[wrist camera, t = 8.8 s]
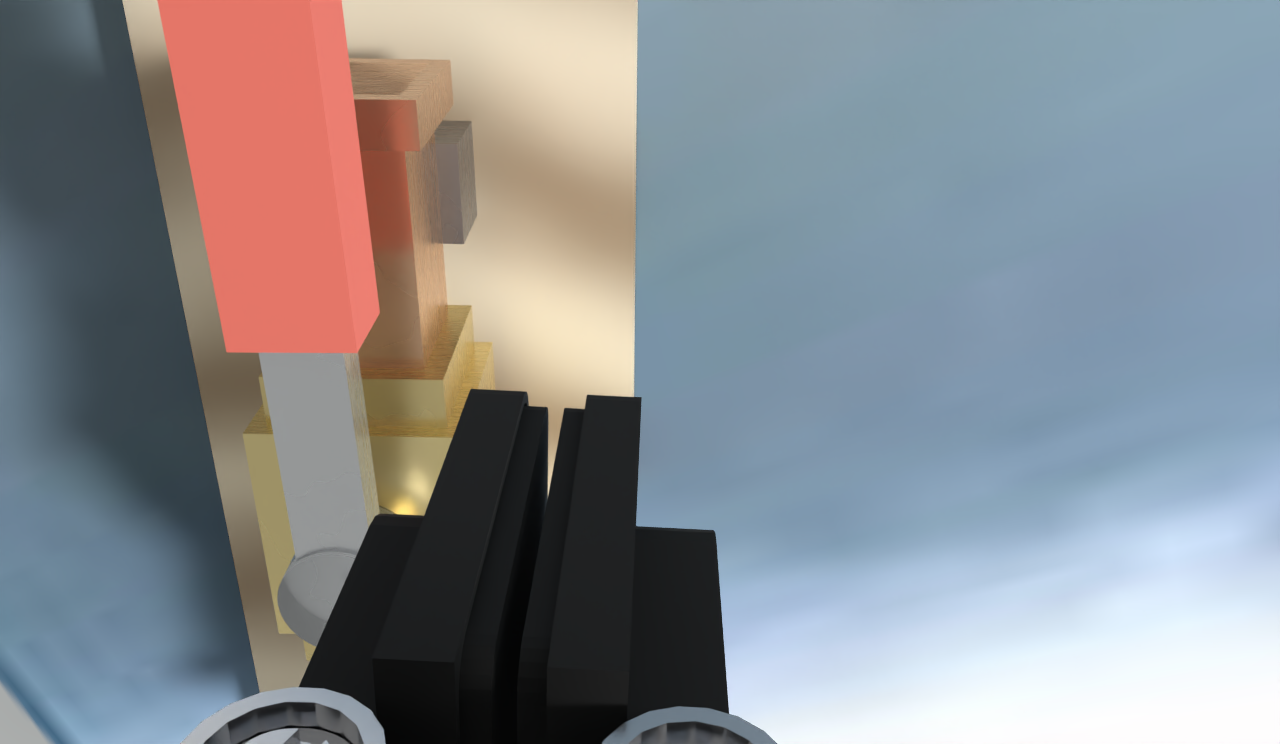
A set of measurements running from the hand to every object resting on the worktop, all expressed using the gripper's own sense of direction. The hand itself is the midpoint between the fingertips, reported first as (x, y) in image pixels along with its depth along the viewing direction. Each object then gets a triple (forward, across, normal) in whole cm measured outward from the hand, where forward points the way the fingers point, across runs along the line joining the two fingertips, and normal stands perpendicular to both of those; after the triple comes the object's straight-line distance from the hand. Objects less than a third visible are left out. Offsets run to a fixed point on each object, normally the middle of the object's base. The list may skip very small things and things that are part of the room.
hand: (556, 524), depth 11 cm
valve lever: (+11, +6, +3) cm, 13 cm away
